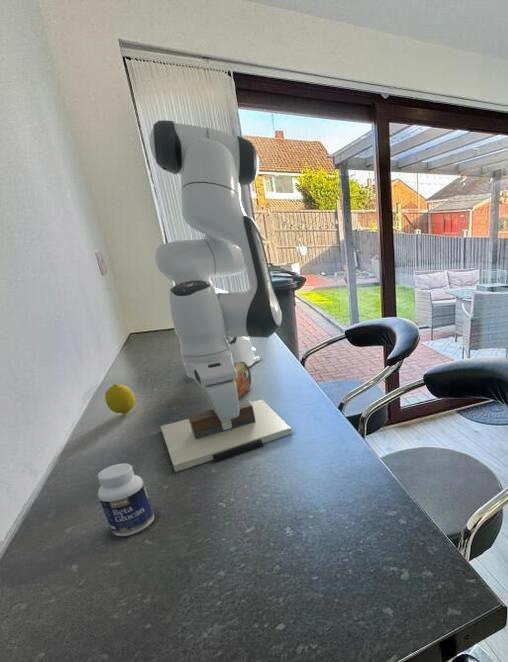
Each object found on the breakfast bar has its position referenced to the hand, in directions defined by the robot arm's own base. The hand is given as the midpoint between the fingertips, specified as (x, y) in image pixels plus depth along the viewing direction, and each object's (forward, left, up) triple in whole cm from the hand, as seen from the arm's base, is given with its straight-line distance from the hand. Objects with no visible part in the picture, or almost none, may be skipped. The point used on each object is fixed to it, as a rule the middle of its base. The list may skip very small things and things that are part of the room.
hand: (224, 423), depth 86 cm
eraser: (0, 0, -1) cm, 1 cm away
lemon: (-27, -17, -2) cm, 32 cm away
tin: (-20, +7, -2) cm, 21 cm away
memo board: (0, 0, -2) cm, 2 cm away
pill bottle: (+22, -18, -2) cm, 29 cm away
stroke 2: (+10, 0, -2) cm, 10 cm away
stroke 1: (+10, -3, -2) cm, 11 cm away
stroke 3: (+10, +3, -2) cm, 11 cm away
